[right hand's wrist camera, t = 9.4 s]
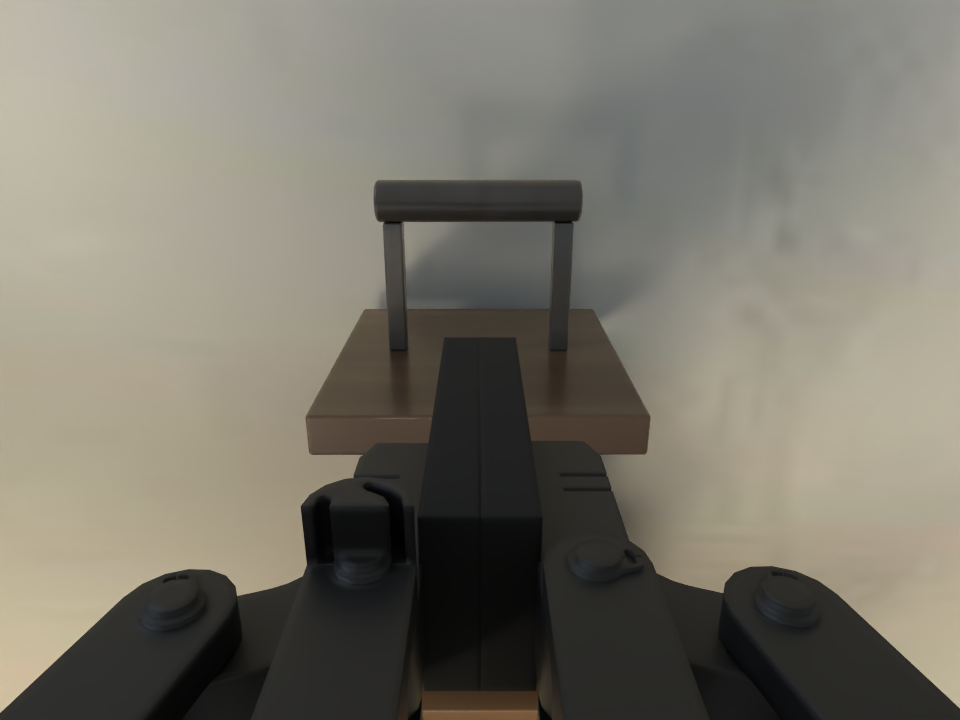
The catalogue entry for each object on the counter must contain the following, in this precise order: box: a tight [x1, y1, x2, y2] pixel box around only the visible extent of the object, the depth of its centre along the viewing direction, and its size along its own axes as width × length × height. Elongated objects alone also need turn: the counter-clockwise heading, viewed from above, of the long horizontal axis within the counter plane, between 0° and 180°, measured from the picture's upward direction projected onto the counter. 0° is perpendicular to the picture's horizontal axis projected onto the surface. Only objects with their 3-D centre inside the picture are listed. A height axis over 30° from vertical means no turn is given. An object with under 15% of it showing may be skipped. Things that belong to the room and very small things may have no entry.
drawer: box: [306, 180, 650, 683], centre depth 25 cm, size 21×9×10 cm, turn 0°
